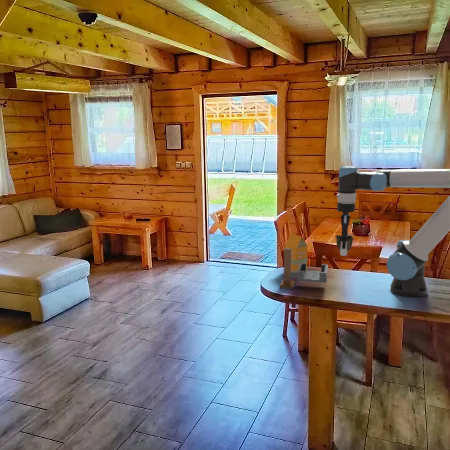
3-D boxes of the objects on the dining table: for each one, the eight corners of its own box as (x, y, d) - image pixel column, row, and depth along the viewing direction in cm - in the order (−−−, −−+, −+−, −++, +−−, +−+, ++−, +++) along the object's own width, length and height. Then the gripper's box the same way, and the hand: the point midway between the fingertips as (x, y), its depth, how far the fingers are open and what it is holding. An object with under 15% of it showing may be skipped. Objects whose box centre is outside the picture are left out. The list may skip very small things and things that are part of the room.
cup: (354, 256, 194) (355, 238, 193) (337, 255, 195) (338, 238, 193) (349, 251, 202) (351, 234, 200) (333, 251, 202) (334, 234, 200)
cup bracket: (327, 283, 210) (328, 247, 206) (325, 293, 198) (327, 254, 194) (283, 280, 216) (283, 244, 212) (279, 289, 203) (279, 251, 200)
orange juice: (295, 276, 222) (296, 237, 217) (284, 272, 229) (284, 234, 225) (307, 273, 226) (308, 235, 222) (295, 269, 233) (296, 232, 229)
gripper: (338, 198, 204) (335, 246, 208) (336, 205, 185) (333, 258, 190) (355, 199, 201) (352, 247, 206) (355, 206, 183) (352, 260, 188)
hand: (343, 253), depth 198 cm, fingers closed on cup, 7 cm apart
